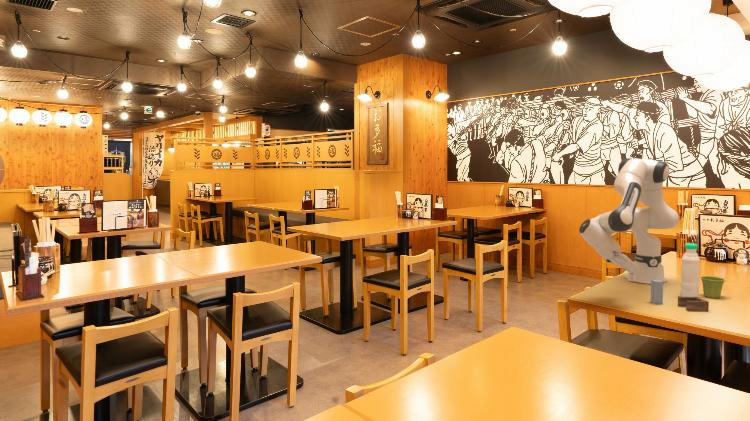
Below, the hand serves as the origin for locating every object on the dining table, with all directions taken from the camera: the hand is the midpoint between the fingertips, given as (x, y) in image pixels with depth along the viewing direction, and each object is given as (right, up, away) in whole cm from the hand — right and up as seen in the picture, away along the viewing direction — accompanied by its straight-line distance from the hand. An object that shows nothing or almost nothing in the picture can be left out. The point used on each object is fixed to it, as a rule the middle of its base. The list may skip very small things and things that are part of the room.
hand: (632, 271), depth 212 cm
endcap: (+21, -14, -9) cm, 27 cm away
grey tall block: (+11, -14, 0) cm, 18 cm away
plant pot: (+42, -13, +9) cm, 45 cm away
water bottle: (+31, -13, +8) cm, 34 cm away
